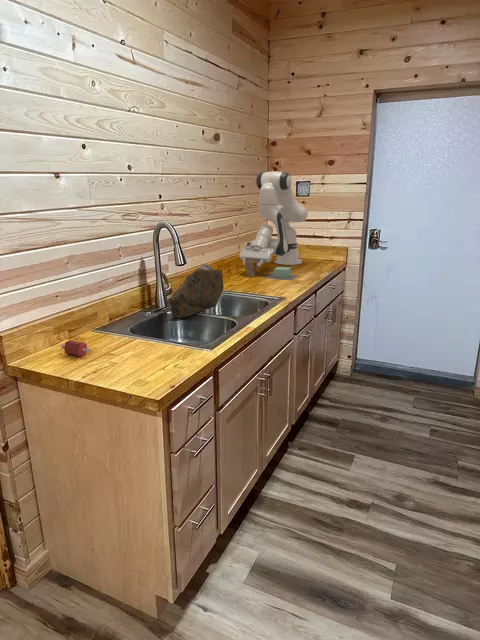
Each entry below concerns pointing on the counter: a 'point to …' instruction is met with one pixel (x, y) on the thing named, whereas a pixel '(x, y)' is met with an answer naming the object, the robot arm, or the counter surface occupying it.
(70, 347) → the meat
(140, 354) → the counter surface
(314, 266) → the counter surface
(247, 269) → the walnut block
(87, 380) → the counter surface
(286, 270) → the sage brick
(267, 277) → the mat
